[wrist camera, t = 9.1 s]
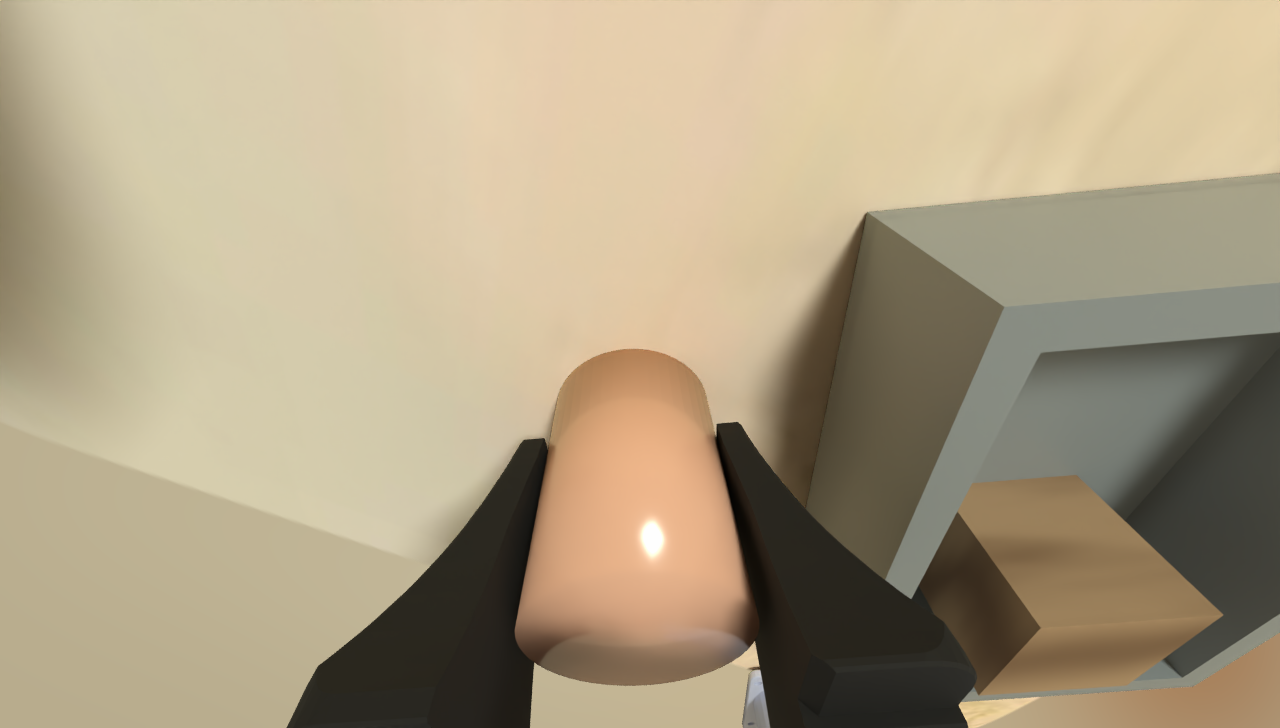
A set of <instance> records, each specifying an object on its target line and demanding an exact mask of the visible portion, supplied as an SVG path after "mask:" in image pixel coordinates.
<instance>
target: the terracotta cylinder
mask: <svg viewBox="0 0 1280 728" xmlns="http://www.w3.org/2000/svg"><path fill="white" fill-rule="evenodd" d="M758 631H759V617H758V613H757V609H756V604H755V600H754V596H753V592H752V587H751V583H750V579H749V575H748V571H747V566H746V562H745V558H744V554H743V549H742V545H741V541H740V537H739V532H738V528H737V524H736V520H735V515H734V511H733V507H732V503H731V498H730V494H729V490H728V486H727V481H726V477H725V473H724V469H723V465H722V460H721V456H720V452H719V448H718V443H717V439H716V435H715V431H714V426H713V422H712V418H711V414H710V409H709V405H708V401H707V397H706V393H705V390H704V387H703V385H702V383H701V382H700V380H699V379H698V377H697V376H696V375H695V374H694V372H693V371H692V370H691V369H689V368H688V367H687V366H686V365H685V364H683V363H682V362H680V361H678V360H677V359H675V358H672V357H670V356H668V355H665V354H662V353H659V352H655V351H650V350H643V349H623V350H616V351H611V352H608V353H604V354H601V355H598V356H596V357H593V358H592V359H590V360H588V361H586V362H584V363H583V364H582V365H580V366H579V367H577V368H576V369H575V370H574V371H573V372H572V373H571V374H570V375H569V376H568V378H567V379H566V380H565V382H564V384H563V385H562V387H561V389H560V392H559V395H558V400H557V405H556V410H555V416H554V421H553V427H552V432H551V437H550V443H549V448H548V454H547V459H546V464H545V470H544V475H543V480H542V486H541V491H540V497H539V502H538V507H537V513H536V518H535V524H534V529H533V534H532V540H531V545H530V550H529V556H528V561H527V567H526V572H525V577H524V583H523V588H522V594H521V599H520V604H519V610H518V615H517V620H516V626H515V639H516V641H517V644H518V646H519V648H520V649H521V650H522V652H523V653H524V654H525V655H526V656H527V657H528V658H529V659H530V660H532V661H533V662H535V663H536V664H537V665H539V666H541V667H543V668H545V669H547V670H549V671H551V672H554V673H556V674H558V675H562V676H565V677H568V678H571V679H576V680H579V681H585V682H590V683H597V684H606V685H624V686H628V685H629V686H631V685H632V686H636V685H653V684H662V683H668V682H675V681H680V680H685V679H689V678H693V677H696V676H700V675H703V674H706V673H708V672H711V671H714V670H716V669H718V668H721V667H723V666H725V665H726V664H728V663H730V662H732V661H734V660H735V659H737V658H738V657H739V656H741V655H742V654H743V653H744V652H745V651H747V650H748V649H749V647H750V646H751V645H752V644H753V642H754V641H755V639H756V637H757V635H758Z"/></svg>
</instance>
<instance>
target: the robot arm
mask: <svg viewBox="0 0 1280 728" xmlns="http://www.w3.org/2000/svg"><path fill="white" fill-rule="evenodd" d="M716 439H717V443H718V448H719V452H720V456H721V460H722V465H723V469H724V473H725V477H726V481H727V486H728V490H729V494H730V498H731V503H732V507H733V511H734V515H735V520H736V524H737V528H738V532H739V537H740V541H741V545H742V549H743V554H744V558H745V562H746V566H747V571H748V575H749V579H750V583H751V587H752V592H753V596H754V600H755V604H756V609H757V613H758V617H759V631H758V635H757V637H756V639H755V643H756V649H757V654H758V660H759V665H760V670H753V671H751V672H750V673H749V677H748V684H747V692H746V699H745V707H744V714H743V721H742V725H743V728H968V725H967V721H966V720H965V718H964V716H963V714H962V712H961V710H960V708H959V706H958V705H959V703H960V702H961V701H962V700H963V699H964V698H965V697H966V696H967V694H968V693H969V692H970V691H971V690H972V689H973V687H974V685H975V683H976V680H977V674H976V671H975V669H974V667H973V665H972V664H971V662H970V660H969V658H968V657H967V655H966V653H965V651H964V650H963V648H962V647H961V645H960V644H959V642H958V641H957V639H956V638H955V637H954V635H953V634H952V632H951V631H950V630H949V628H948V627H947V625H946V624H945V622H944V621H942V620H941V619H939V618H938V617H936V616H935V615H933V614H932V613H931V612H929V611H928V610H926V609H925V608H923V607H922V606H920V605H919V604H917V603H916V602H914V601H913V600H912V599H910V598H909V597H907V596H906V595H905V594H903V593H902V592H900V591H899V590H898V589H896V588H895V587H894V586H893V585H891V584H890V583H889V582H887V581H886V580H885V579H883V578H882V577H881V576H879V575H878V574H877V573H876V572H874V571H873V570H872V569H871V568H870V567H868V566H867V565H866V564H865V563H864V562H862V561H861V560H860V559H859V558H858V557H856V556H855V555H854V554H853V553H852V552H850V551H849V550H848V549H847V548H846V547H844V546H843V545H842V544H841V543H840V542H839V541H838V540H837V539H836V538H835V537H834V536H832V535H831V534H830V533H829V532H828V531H827V530H826V529H825V528H824V527H823V526H822V525H821V524H820V523H819V522H818V521H817V520H816V519H815V518H814V517H813V516H812V515H811V514H810V513H809V512H808V511H807V510H806V509H805V508H804V507H803V506H802V505H801V503H800V502H799V501H798V500H797V499H796V498H795V497H794V496H793V494H792V493H791V492H790V491H789V490H788V489H787V488H786V486H785V485H784V484H783V483H782V482H781V480H780V479H779V478H778V477H777V475H776V474H775V473H774V472H773V470H772V469H771V468H770V466H769V465H768V464H767V463H766V461H765V460H764V459H763V457H762V456H761V454H760V453H759V452H758V450H757V449H756V447H755V446H754V444H753V443H752V441H751V440H750V438H749V437H748V435H747V434H746V432H745V430H744V429H743V427H742V425H741V424H739V423H738V422H733V423H721V424H717V435H716ZM547 454H548V449H547V445H546V442H545V439H544V438H541V439H529V440H524V441H523V442H522V443H521V444H520V446H519V447H518V449H517V451H516V452H515V454H514V456H513V457H512V459H511V461H510V462H509V464H508V465H507V467H506V469H505V470H504V472H503V473H502V475H501V476H500V478H499V479H498V481H497V482H496V484H495V485H494V487H493V488H492V490H491V491H490V493H489V494H488V496H487V497H486V499H485V500H484V501H483V503H482V504H481V506H480V507H479V508H478V509H477V511H476V512H475V513H474V515H473V516H472V517H471V519H470V520H469V521H468V523H467V524H466V525H465V527H464V528H463V529H462V530H461V532H460V533H459V534H458V535H457V537H456V538H455V539H454V540H453V541H452V543H451V544H450V545H449V546H448V547H447V548H446V550H445V551H444V552H443V553H442V554H441V555H440V556H439V558H438V559H437V560H436V561H435V562H434V563H433V564H432V565H431V566H430V567H429V568H428V569H427V570H426V572H424V574H423V575H422V576H421V577H420V578H419V579H418V580H417V581H416V582H415V583H414V584H413V585H412V586H411V587H410V588H409V589H408V590H407V591H406V592H405V593H404V594H403V595H402V596H400V597H399V598H398V599H397V600H396V601H395V602H394V603H393V604H392V605H391V606H390V607H389V608H387V609H386V610H385V611H384V612H383V613H382V614H381V615H380V616H379V617H378V618H377V619H376V620H374V621H373V622H372V623H371V624H370V625H369V626H367V627H366V628H365V629H364V630H363V631H362V632H361V633H359V634H358V635H357V636H356V637H354V638H353V639H352V640H350V641H349V642H348V643H347V644H346V645H344V646H343V647H342V648H341V649H339V650H338V651H337V652H336V653H334V654H333V655H332V656H331V657H329V658H328V659H327V660H326V661H324V662H323V663H322V664H320V665H319V666H318V667H317V669H316V671H315V673H314V674H313V676H312V678H311V680H310V682H309V683H308V685H307V687H306V689H305V691H304V693H303V695H302V697H301V699H300V702H299V703H298V706H297V708H296V710H295V712H294V714H293V716H292V718H291V720H290V722H289V724H288V726H287V728H530V715H531V699H532V683H533V669H534V662H533V661H532V660H530V659H529V658H528V657H527V656H526V655H525V654H524V653H523V652H522V650H521V649H520V648H519V646H518V644H517V641H516V639H515V626H516V620H517V615H518V610H519V604H520V599H521V594H522V588H523V583H524V577H525V572H526V567H527V561H528V556H529V550H530V545H531V540H532V534H533V529H534V524H535V518H536V513H537V507H538V502H539V497H540V491H541V486H542V480H543V475H544V470H545V464H546V459H547Z"/></svg>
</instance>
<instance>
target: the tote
mask: <svg viewBox="0 0 1280 728" xmlns="http://www.w3.org/2000/svg"><path fill="white" fill-rule="evenodd" d="M1069 475H1077V476H1078V477H1079V478H1080V479H1081V480H1082V481H1083V482H1084V483H1085V484H1086V485H1088V486H1089V487H1090V488H1091V489H1092V490H1093V491H1094V492H1095V493H1096V494H1097V495H1098V496H1099V497H1100V498H1101V499H1102V500H1103V501H1104V502H1105V503H1106V504H1107V505H1109V506H1110V507H1111V508H1112V509H1113V510H1114V511H1115V512H1116V513H1117V514H1118V515H1119V516H1120V517H1121V518H1122V519H1123V520H1124V521H1125V522H1126V523H1127V524H1129V525H1130V526H1131V527H1132V528H1133V529H1134V530H1135V531H1136V532H1137V533H1138V534H1139V535H1140V536H1141V537H1142V538H1143V539H1144V540H1145V541H1146V542H1147V543H1148V544H1150V545H1151V546H1152V547H1153V548H1154V549H1155V550H1156V551H1157V552H1158V553H1159V554H1160V555H1161V556H1162V557H1163V558H1164V559H1165V560H1166V561H1167V562H1168V563H1170V564H1171V565H1172V566H1173V567H1174V568H1175V569H1176V570H1177V571H1178V572H1179V573H1180V574H1181V575H1182V576H1183V577H1184V578H1185V579H1186V580H1187V581H1188V582H1189V583H1191V584H1192V585H1193V586H1194V587H1195V588H1196V589H1197V590H1198V591H1199V592H1200V593H1201V594H1202V595H1203V596H1204V597H1205V598H1206V599H1207V600H1208V601H1209V602H1210V603H1212V604H1213V605H1214V606H1215V607H1216V608H1217V609H1218V610H1219V611H1220V612H1221V613H1222V614H1223V616H1222V617H1220V618H1219V619H1218V620H1216V621H1215V622H1213V623H1212V624H1211V625H1209V626H1208V627H1206V628H1205V629H1204V630H1202V631H1201V632H1200V633H1198V634H1197V635H1195V636H1194V637H1193V638H1191V639H1190V640H1189V641H1187V642H1186V643H1184V644H1183V645H1182V646H1180V647H1179V648H1178V649H1176V650H1175V651H1173V652H1172V653H1171V654H1169V655H1168V656H1167V657H1165V658H1164V659H1162V660H1161V661H1160V662H1158V663H1157V664H1156V665H1154V666H1153V667H1151V668H1150V669H1149V670H1147V671H1146V672H1145V673H1143V674H1142V675H1140V676H1139V677H1138V678H1136V679H1135V680H1134V681H1132V682H1131V683H1129V684H1128V685H1127V686H1114V687H1099V688H1084V689H1070V690H1055V691H1040V692H1025V693H1011V694H996V695H981V696H979V695H978V694H977V692H976V690H975V688H974V687H973V689H972V690H971V691H970V692H969V693H968V694H967V696H966V697H965V698H964V699H963V700H962V701H961V702H969V701H984V700H999V699H1014V698H1029V697H1044V696H1057V695H1058V696H1059V695H1074V694H1089V693H1101V692H1102V693H1103V692H1118V691H1132V690H1148V689H1163V688H1177V687H1193V686H1194V685H1196V684H1198V683H1199V682H1201V681H1203V680H1204V679H1206V678H1208V677H1209V676H1211V675H1212V674H1214V673H1216V672H1217V671H1219V670H1220V669H1222V668H1224V667H1225V666H1226V665H1228V664H1230V663H1231V662H1233V661H1235V660H1236V659H1238V658H1239V657H1241V656H1243V655H1244V654H1246V653H1247V652H1249V651H1251V650H1252V649H1254V648H1256V647H1257V646H1259V645H1260V644H1262V643H1264V642H1265V641H1267V640H1268V639H1270V638H1272V637H1273V636H1275V635H1276V634H1278V633H1280V173H1277V174H1267V175H1256V176H1245V177H1235V178H1224V179H1214V180H1203V181H1192V182H1182V183H1171V184H1161V185H1150V186H1139V187H1129V188H1118V189H1108V190H1097V191H1086V192H1076V193H1065V194H1055V195H1044V196H1033V197H1023V198H1012V199H1002V200H991V201H980V202H970V203H959V204H949V205H938V206H927V207H917V208H906V209H896V210H885V211H874V212H867V215H866V220H865V225H864V230H863V235H862V239H861V244H860V249H859V254H858V259H857V264H856V268H855V273H854V278H853V283H852V288H851V293H850V297H849V302H848V307H847V312H846V317H845V321H844V326H843V331H842V336H841V341H840V346H839V350H838V355H837V360H836V365H835V370H834V375H833V379H832V384H831V389H830V394H829V399H828V403H827V408H826V413H825V418H824V423H823V428H822V432H821V437H820V442H819V447H818V452H817V457H816V461H815V466H814V471H813V476H812V481H811V485H810V490H809V495H808V500H807V505H806V510H807V511H808V512H809V513H810V514H811V515H812V516H813V517H814V518H815V519H816V520H817V521H818V522H819V523H820V524H821V525H822V526H823V527H824V528H825V529H826V530H827V531H828V532H829V533H830V534H831V535H832V536H834V537H835V538H836V539H837V540H838V541H839V542H840V543H841V544H842V545H843V546H844V547H846V548H847V549H848V550H849V551H850V552H852V553H853V554H854V555H855V556H856V557H858V558H859V559H860V560H861V561H862V562H864V563H865V564H866V565H867V566H868V567H870V568H871V569H872V570H873V571H874V572H876V573H877V574H878V575H879V576H881V577H882V578H883V579H885V580H886V581H887V582H889V583H890V584H891V585H893V586H894V587H895V588H896V589H898V590H899V591H900V592H902V593H903V594H905V595H906V596H907V597H909V598H910V599H912V600H913V601H914V602H916V603H917V604H919V605H920V606H922V607H923V608H925V609H926V610H928V611H929V612H931V613H932V614H933V615H934V613H933V611H932V609H931V607H930V606H929V604H928V602H927V600H926V598H925V596H924V595H923V593H922V591H921V589H920V587H919V584H920V582H921V580H922V578H923V576H924V574H925V572H926V570H927V568H928V566H929V565H930V563H931V561H932V559H933V557H934V555H935V553H936V551H937V549H938V547H939V545H940V544H941V542H942V540H943V538H944V536H945V534H946V532H947V530H948V528H949V526H950V525H951V523H952V521H953V519H954V517H955V515H956V513H957V511H958V509H959V507H960V506H961V504H962V502H963V500H964V498H965V496H966V494H967V492H968V490H969V488H970V486H971V485H972V483H982V482H994V481H1007V480H1019V479H1032V478H1044V477H1057V476H1069Z"/></svg>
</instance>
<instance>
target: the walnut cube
mask: <svg viewBox="0 0 1280 728" xmlns="http://www.w3.org/2000/svg"><path fill="white" fill-rule="evenodd" d="M919 587H920V589H921V591H922V593H923V595H924V596H925V598H926V600H927V602H928V604H929V606H930V607H931V609H932V611H933V613H934V615H935V616H936V617H938V618H939V619H941V620H942V621H944V622H945V624H946V625H947V627H948V628H949V630H950V631H951V632H952V634H953V635H954V637H955V638H956V639H957V641H958V642H959V644H960V645H961V647H962V648H963V650H964V651H965V653H966V655H967V657H968V658H969V660H970V662H971V664H972V665H973V667H974V669H975V671H976V674H977V680H976V683H975V685H974V688H975V690H976V692H977V694H978V695H979V696H981V695H996V694H1011V693H1025V692H1040V691H1055V690H1070V689H1084V688H1099V687H1114V686H1127V685H1128V684H1129V683H1131V682H1132V681H1134V680H1135V679H1136V678H1138V677H1139V676H1140V675H1142V674H1143V673H1145V672H1146V671H1147V670H1149V669H1150V668H1151V667H1153V666H1154V665H1156V664H1157V663H1158V662H1160V661H1161V660H1162V659H1164V658H1165V657H1167V656H1168V655H1169V654H1171V653H1172V652H1173V651H1175V650H1176V649H1178V648H1179V647H1180V646H1182V645H1183V644H1184V643H1186V642H1187V641H1189V640H1190V639H1191V638H1193V637H1194V636H1195V635H1197V634H1198V633H1200V632H1201V631H1202V630H1204V629H1205V628H1206V627H1208V626H1209V625H1211V624H1212V623H1213V622H1215V621H1216V620H1218V619H1219V618H1220V617H1222V616H1223V614H1222V613H1221V612H1220V611H1219V610H1218V609H1217V608H1216V607H1215V606H1214V605H1213V604H1212V603H1210V602H1209V601H1208V600H1207V599H1206V598H1205V597H1204V596H1203V595H1202V594H1201V593H1200V592H1199V591H1198V590H1197V589H1196V588H1195V587H1194V586H1193V585H1192V584H1191V583H1189V582H1188V581H1187V580H1186V579H1185V578H1184V577H1183V576H1182V575H1181V574H1180V573H1179V572H1178V571H1177V570H1176V569H1175V568H1174V567H1173V566H1172V565H1171V564H1170V563H1168V562H1167V561H1166V560H1165V559H1164V558H1163V557H1162V556H1161V555H1160V554H1159V553H1158V552H1157V551H1156V550H1155V549H1154V548H1153V547H1152V546H1151V545H1150V544H1148V543H1147V542H1146V541H1145V540H1144V539H1143V538H1142V537H1141V536H1140V535H1139V534H1138V533H1137V532H1136V531H1135V530H1134V529H1133V528H1132V527H1131V526H1130V525H1129V524H1127V523H1126V522H1125V521H1124V520H1123V519H1122V518H1121V517H1120V516H1119V515H1118V514H1117V513H1116V512H1115V511H1114V510H1113V509H1112V508H1111V507H1110V506H1109V505H1107V504H1106V503H1105V502H1104V501H1103V500H1102V499H1101V498H1100V497H1099V496H1098V495H1097V494H1096V493H1095V492H1094V491H1093V490H1092V489H1091V488H1090V487H1089V486H1088V485H1086V484H1085V483H1084V482H1083V481H1082V480H1081V479H1080V478H1079V477H1078V476H1077V475H1069V476H1057V477H1044V478H1032V479H1019V480H1007V481H994V482H982V483H972V485H971V486H970V488H969V490H968V492H967V494H966V496H965V498H964V500H963V502H962V504H961V506H960V507H959V509H958V511H957V513H956V515H955V517H954V519H953V521H952V523H951V525H950V526H949V528H948V530H947V532H946V534H945V536H944V538H943V540H942V542H941V544H940V545H939V547H938V549H937V551H936V553H935V555H934V557H933V559H932V561H931V563H930V565H929V566H928V568H927V570H926V572H925V574H924V576H923V578H922V580H921V582H920V584H919Z"/></svg>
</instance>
